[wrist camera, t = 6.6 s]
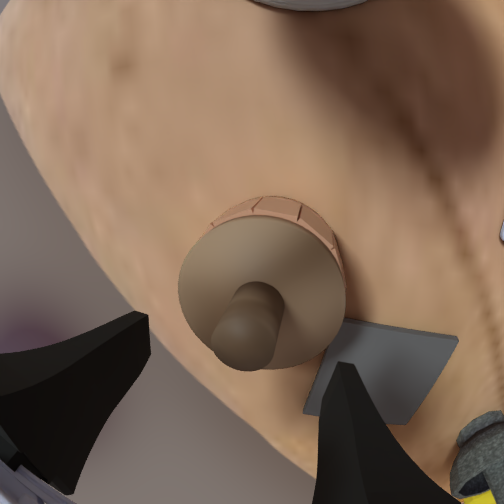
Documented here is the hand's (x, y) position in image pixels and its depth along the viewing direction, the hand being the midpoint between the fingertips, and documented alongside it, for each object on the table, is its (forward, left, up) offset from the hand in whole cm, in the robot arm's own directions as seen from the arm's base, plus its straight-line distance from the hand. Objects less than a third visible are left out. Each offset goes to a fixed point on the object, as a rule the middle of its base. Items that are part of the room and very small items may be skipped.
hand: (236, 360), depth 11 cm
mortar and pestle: (-27, +15, -10) cm, 32 cm away
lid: (0, 0, -6) cm, 6 cm away
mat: (-10, +8, -10) cm, 16 cm away
